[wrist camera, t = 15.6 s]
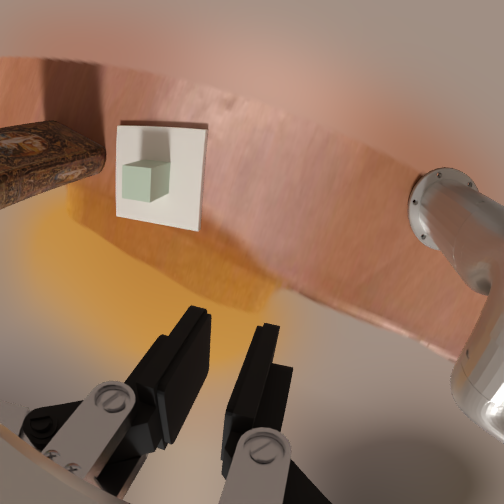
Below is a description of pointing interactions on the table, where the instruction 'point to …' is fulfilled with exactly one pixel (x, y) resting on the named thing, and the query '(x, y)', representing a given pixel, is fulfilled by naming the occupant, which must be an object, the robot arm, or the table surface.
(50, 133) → the book
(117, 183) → the pale board
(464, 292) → the table surface
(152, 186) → the block
